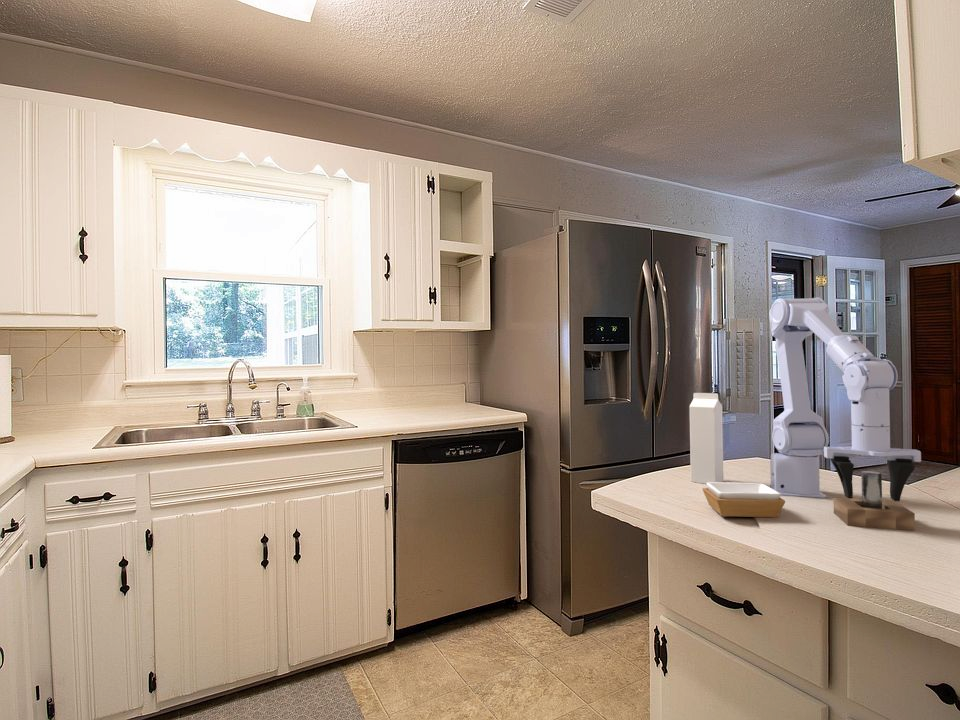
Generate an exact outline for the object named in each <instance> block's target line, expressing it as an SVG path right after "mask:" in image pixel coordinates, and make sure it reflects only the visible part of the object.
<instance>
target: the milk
mask: <svg viewBox="0 0 960 720" xmlns="http://www.w3.org/2000/svg"><path fill="white" fill-rule="evenodd" d="M723 437H724V431H723V405H722V402H720V399H719V394H718V393H716V392H714V393H713V392H693V399H692V401H691V403H690V404H689V447H690V448H689V449H690V451H689V452H690V456H689V457H690V458H689V459H690V463H689V464H690V482H692V483H698V484H703V485H707V483H708V482H724V440H723Z"/></svg>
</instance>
